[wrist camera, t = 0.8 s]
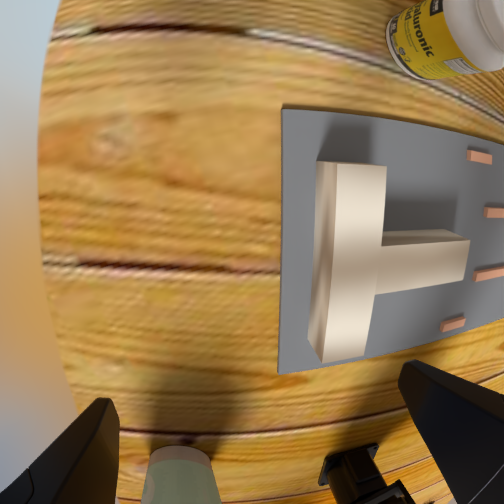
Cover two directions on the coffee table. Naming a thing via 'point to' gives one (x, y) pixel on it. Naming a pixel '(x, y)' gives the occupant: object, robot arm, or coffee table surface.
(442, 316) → the mat
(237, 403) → the coffee table surface
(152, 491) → the coffee cup
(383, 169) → the t block
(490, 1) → the supplement bottle
